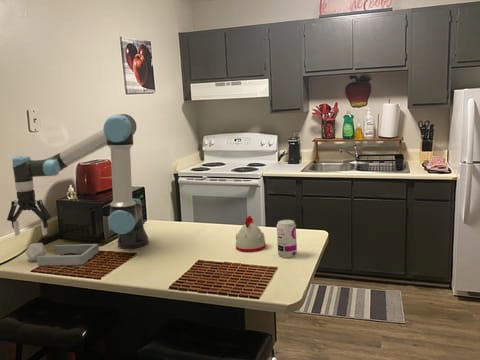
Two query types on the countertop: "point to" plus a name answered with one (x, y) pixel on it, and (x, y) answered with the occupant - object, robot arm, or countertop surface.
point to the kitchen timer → (250, 238)
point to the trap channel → (85, 254)
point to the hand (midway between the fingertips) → (31, 234)
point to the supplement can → (286, 238)
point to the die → (35, 251)
